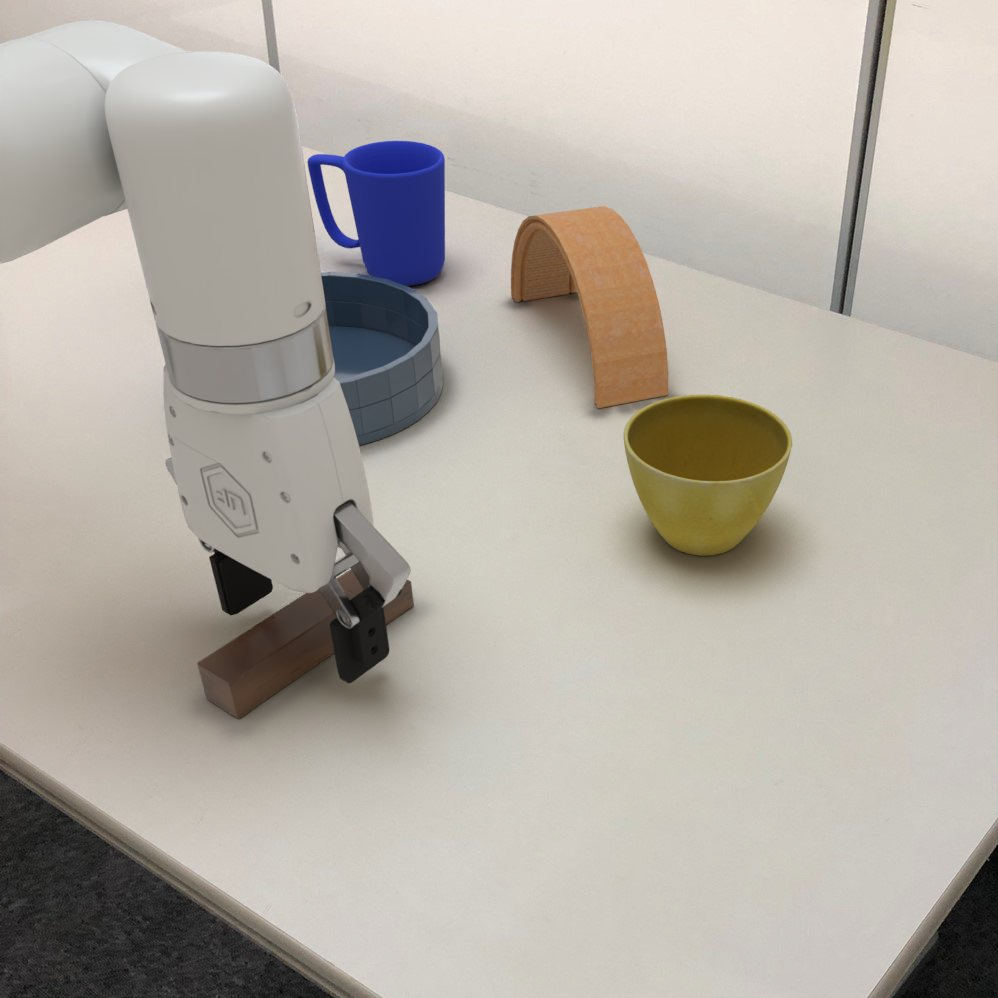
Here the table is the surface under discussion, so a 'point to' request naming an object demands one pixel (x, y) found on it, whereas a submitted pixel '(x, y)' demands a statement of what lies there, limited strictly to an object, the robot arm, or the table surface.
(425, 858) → the table surface
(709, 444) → the flower pot
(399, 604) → the stepped brown bar
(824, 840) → the table surface
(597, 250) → the arch
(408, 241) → the mug
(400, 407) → the bowl
